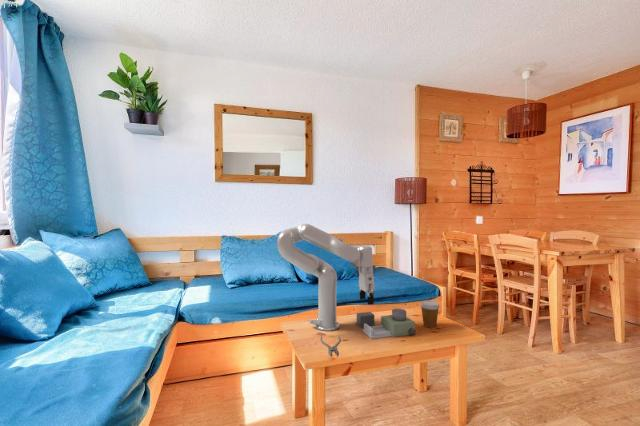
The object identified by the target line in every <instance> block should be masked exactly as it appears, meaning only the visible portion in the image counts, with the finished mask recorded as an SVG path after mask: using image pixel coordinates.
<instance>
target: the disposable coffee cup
mask: <svg viewBox="0 0 640 426" xmlns="http://www.w3.org/2000/svg"><path fill="white" fill-rule="evenodd" d="M420 308H421V317H422V323H423V327H426V328H429V329H434V328H436V327H437V322H438V315H439V308H440V305H439V303H438V302H437V301H433V300H422V301H421V302H420Z"/></svg>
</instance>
